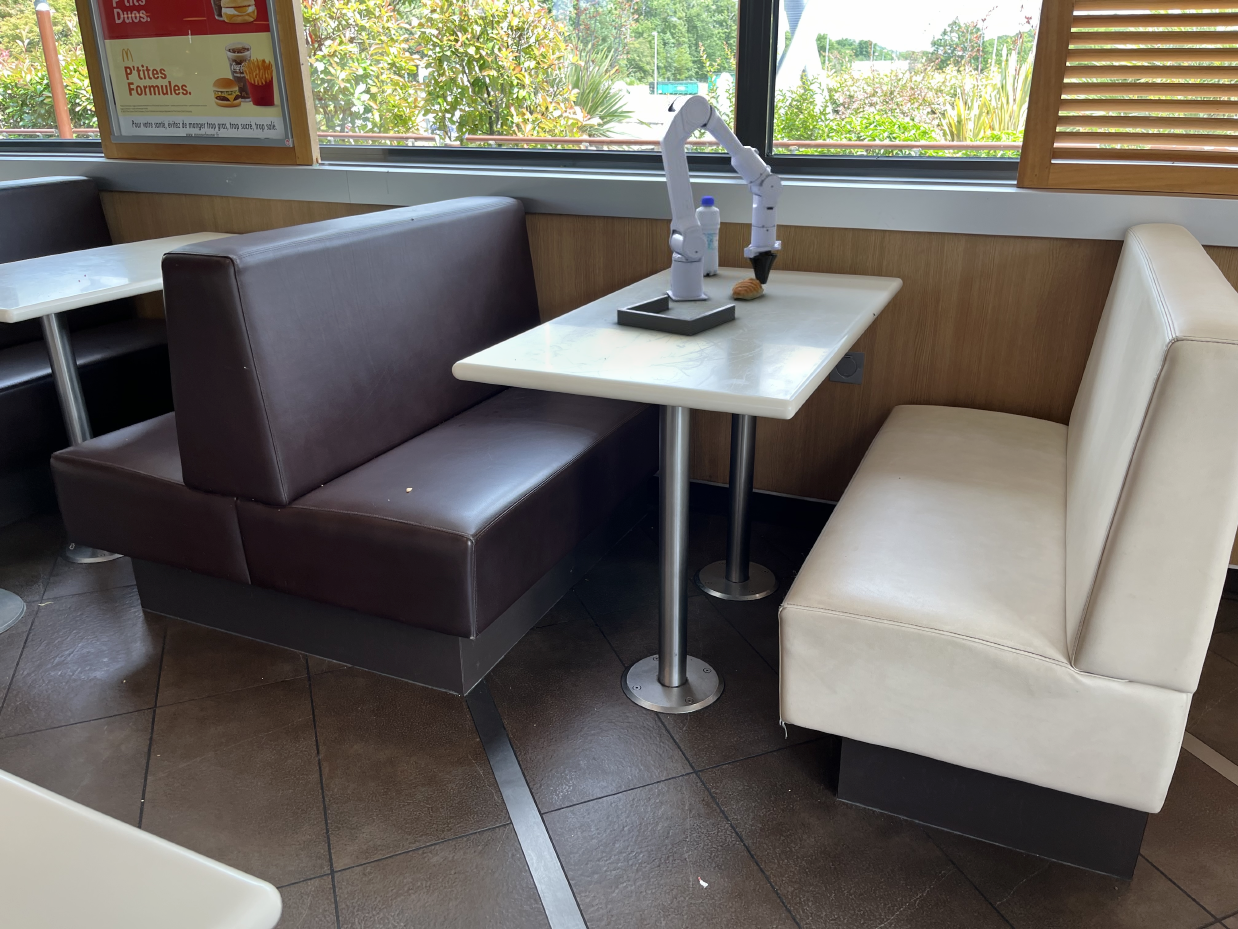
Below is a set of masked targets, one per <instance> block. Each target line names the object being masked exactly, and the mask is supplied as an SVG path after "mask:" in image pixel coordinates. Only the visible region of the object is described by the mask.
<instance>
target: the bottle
mask: <svg viewBox="0 0 1238 929" xmlns="http://www.w3.org/2000/svg"><path fill="white" fill-rule="evenodd" d="M700 201H701V202H700V205H701V206H700V207H698V208H697V209H696V210H695V215H696V217H697V219H698V221H699V223H700V225H701V230H702V233H703V235H704V236H705V237H706V239H707V242H708V248H707V251H706V253H705V255H704V256H703V277H704V276H707V275H708V273H709V276H713V275H716V274H717V272H718V270H719V231H720V230H719V229H720V228H721V216H720V209H719V208H717V207H715V198H714V197H713V196H709V195H708V196H702V197H701V200H700Z"/></svg>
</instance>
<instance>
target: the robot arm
mask: <svg viewBox="0 0 1238 929" xmlns="http://www.w3.org/2000/svg"><path fill="white" fill-rule="evenodd" d="M698 129H699V130H702V131H706V132H708V133H709V134H710V135H711V136H712V137H713V138H714V140H716V141H717V142H718V144H719V145H720V146H721V147H722V148H723V149H724V150H725V151H726V152H727V153H728V154H729V155H730V157H731V162H730V165H731V166H732V167H733V169H734V170H735V171H736V172H737V173H738V175H740V177H741V178H742V179H743V180H744V181H745V182H746V184H747V185H748V191H749V193H750V194H752V195H753V196H752V217H751V239H750V244H749V245H748V246H747V247H745V248H743V249H744V250H743V252H744V253H743V257H744V258H748V260H749V262H750V264H751V266H752V269H753V273H754V279H757V280H758V281H759V282H760V284H761V285H762V286H763V285H766V284H767V283H768V280H769V276H770V272H771V270H772V267H773V265H774V263H775V261H776V259H777V258H778V253H777V252H773V251H776V250H777V251H778V250H779V251H780V250H782V241H781V240H777V223H778V222H777V221H778V208H779V207H778V203H779V198H780V196H781V195H782V193H783V191H784V185H783V183H782V180H781V178H780V176H779V175H778V174H776V173H773V172H771V169H772V168H771V166H770V165H769V164H766V163H765V162H764V161H763V159H762V158H761V157H760V156H759V154H760V151H759V150H758V149H757V148H753V147H751V146H743V144H742V143H741V142H740V140H739V139H738V137H737V136H736V135H735V133H734V132H733V131H732V130H731V129H730V127H729V126H728V124H727V123H726V122H725V120H724V119H723V117H722V116H721V115H720V113H719V112H718V111H717V109H716V107H715V106H714V105H712V104H710V102H709V100H708V99H707V98H706V97H704V96H703V95H699V94H694V95H685V94H684V95H683V94H682V95H678V96H676V97H675V98H674V99H673V100H672V102H671V103H670V104H669V105H668V106H667V108H666V109H665V119H664V121H663V125H662V128H661V131H660V134H659V145H660V151H661V157H662V163H663V170H664V175H665V180H666V186H667V193H668V198H669V203H670V209H671V210H670V211H671V215H672V220H671V222H670V225H669V226H670V235H669V239H668V243H669V247H670V249H671V252H672V251H673V254H672V257H671V258H672V260H671V267H670V290H666V295H667V296H669V298H671V299H672V300H673V301H675V302H677V301H678V302H679V301H694V300H695V301H698V300H708V296H706V294H704V275H703V256H704V255H705V253H706V251H707V248H708V242H707V239H706V237H705V236H704V235H703V233H702V230H701V225H700V223H699V221H698V219H697V217H696V210H695V209H696V208H695V204H694V197H693V190H692V185H691V178H690V173H689V172H690V171H689V166H688V165H689V164H688V159H687V153H686V147H685V144H686V143H687V141H688V139H690V137H691V136H692V134H693V133H694V132H695V131H697V130H698Z"/></svg>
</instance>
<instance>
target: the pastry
mask: <svg viewBox="0 0 1238 929" xmlns="http://www.w3.org/2000/svg"><path fill="white" fill-rule="evenodd" d="M764 290H765V289H764V288H763V284H760V282H759V281H758V280H757V279H755V277H754V278H753V277H748V278H746V279H745V278H744V279H742V280H741V281H738V282H736V283H735V285H734V286H733V287H732V290H731V292H732V298H733V299H744V300H748V301H749V300H753V299H757V298H759V297H761V296H762V294H763V293H764Z"/></svg>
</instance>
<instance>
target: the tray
mask: <svg viewBox="0 0 1238 929" xmlns="http://www.w3.org/2000/svg"><path fill="white" fill-rule="evenodd" d="M669 309H670V296H669V295H668V294H664V295H660V296H657V297H654V298H651V299H647V300H644V301H641V302H638V303H634V304H631V305H629V306H625V307H624V306H623V307H621V308H618V309H616V323H617V324H618V325H624V326H629V327H636V328H642V329H646V330H647V329H648V330H652V331H659V332H666V333H671V334H677V335H685V336H688V337H689V336H690V337H691V336H693V335H696V334H699V333H701V332H703V331H705V330H709V329H711V328H714V327H716V326H720V325H721V324H725V323H727V322H729V321H733V320H735V319H736V304H732V303H730V304H727V305H725V306H721V307H719V308H716V309H713V310H709V311H707V312H705V313H702V314H699V315H696V316H694V317H690V318H685V317H679V316H678V317H677V316H673V315H672V316H671V315H666V314H659V313H661V312H664V311H667V310H669ZM617 324H616V325H617Z"/></svg>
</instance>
